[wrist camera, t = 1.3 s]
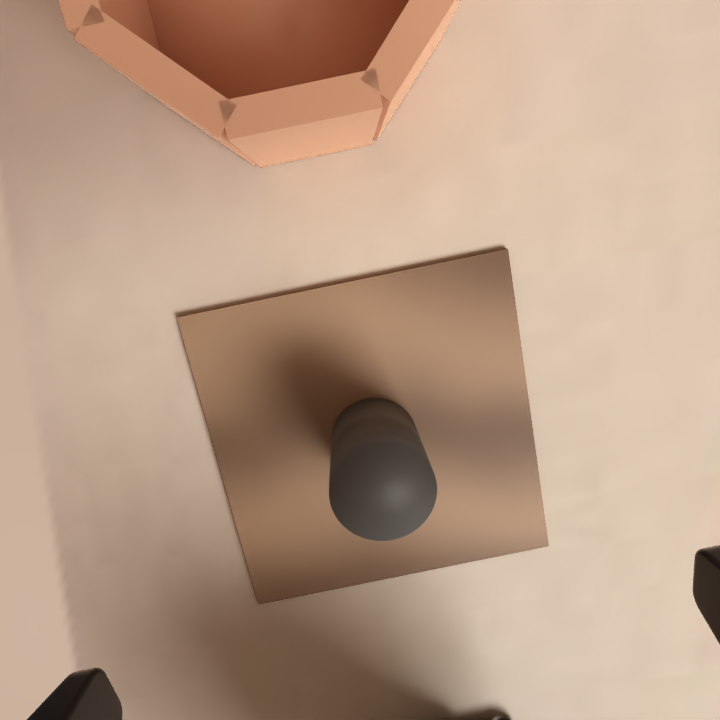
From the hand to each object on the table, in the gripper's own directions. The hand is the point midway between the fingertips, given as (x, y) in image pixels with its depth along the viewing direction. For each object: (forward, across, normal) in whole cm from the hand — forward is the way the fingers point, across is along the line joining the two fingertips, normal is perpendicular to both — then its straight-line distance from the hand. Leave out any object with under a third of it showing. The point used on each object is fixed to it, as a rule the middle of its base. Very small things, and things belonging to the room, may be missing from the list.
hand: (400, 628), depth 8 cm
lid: (+11, 0, +3) cm, 12 cm away
